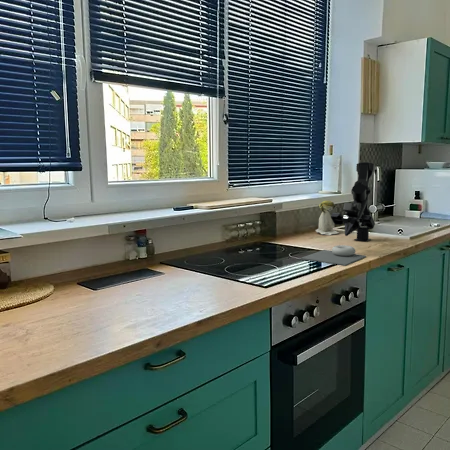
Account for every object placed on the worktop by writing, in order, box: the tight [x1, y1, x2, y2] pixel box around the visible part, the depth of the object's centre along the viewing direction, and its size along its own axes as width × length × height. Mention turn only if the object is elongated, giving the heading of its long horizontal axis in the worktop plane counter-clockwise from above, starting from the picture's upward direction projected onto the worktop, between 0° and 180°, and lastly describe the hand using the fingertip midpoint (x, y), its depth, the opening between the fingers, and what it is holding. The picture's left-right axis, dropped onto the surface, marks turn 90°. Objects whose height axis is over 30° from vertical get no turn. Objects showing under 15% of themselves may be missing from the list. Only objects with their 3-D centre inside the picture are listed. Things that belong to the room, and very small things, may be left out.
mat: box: [300, 249, 367, 267], centre depth 189 cm, size 20×20×1 cm
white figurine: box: [315, 200, 340, 236], centre depth 247 cm, size 12×13×18 cm
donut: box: [331, 244, 357, 256], centre depth 193 cm, size 10×4×10 cm
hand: (345, 235), depth 194 cm, fingers closed
